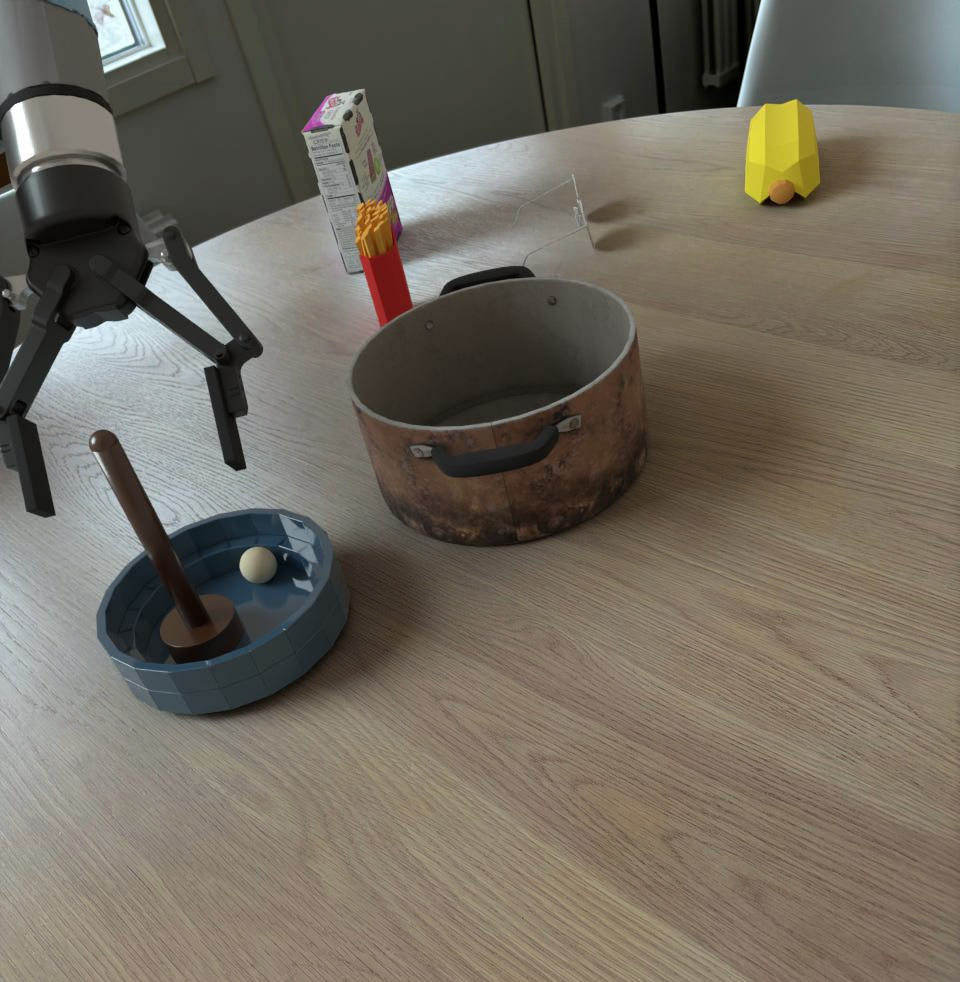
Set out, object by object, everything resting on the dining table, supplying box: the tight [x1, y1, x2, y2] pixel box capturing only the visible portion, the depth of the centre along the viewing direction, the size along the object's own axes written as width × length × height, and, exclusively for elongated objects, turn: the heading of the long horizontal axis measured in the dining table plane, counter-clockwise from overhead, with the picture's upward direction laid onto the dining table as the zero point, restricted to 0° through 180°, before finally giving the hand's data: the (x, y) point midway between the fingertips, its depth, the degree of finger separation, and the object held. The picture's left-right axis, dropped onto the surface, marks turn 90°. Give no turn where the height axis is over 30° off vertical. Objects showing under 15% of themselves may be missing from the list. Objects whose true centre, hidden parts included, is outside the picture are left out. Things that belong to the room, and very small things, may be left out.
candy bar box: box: [300, 88, 404, 275], centre depth 120 cm, size 11×5×16 cm, turn 171°
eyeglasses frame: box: [512, 173, 596, 266], centre depth 116 cm, size 14×8×5 cm, turn 2°
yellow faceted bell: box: [744, 98, 821, 205], centre depth 114 cm, size 18×7×8 cm
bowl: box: [95, 507, 351, 716], centre depth 76 cm, size 17×17×5 cm
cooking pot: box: [345, 265, 649, 547], centre depth 83 cm, size 30×22×11 cm
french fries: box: [355, 199, 414, 328], centre depth 106 cm, size 8×4×12 cm, turn 7°
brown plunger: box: [88, 428, 244, 664], centre depth 71 cm, size 6×6×18 cm
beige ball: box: [240, 547, 277, 584], centre depth 80 cm, size 3×3×3 cm
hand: (138, 490), depth 70 cm, fingers open, 13 cm apart
